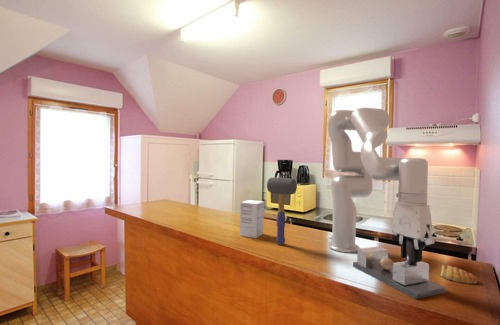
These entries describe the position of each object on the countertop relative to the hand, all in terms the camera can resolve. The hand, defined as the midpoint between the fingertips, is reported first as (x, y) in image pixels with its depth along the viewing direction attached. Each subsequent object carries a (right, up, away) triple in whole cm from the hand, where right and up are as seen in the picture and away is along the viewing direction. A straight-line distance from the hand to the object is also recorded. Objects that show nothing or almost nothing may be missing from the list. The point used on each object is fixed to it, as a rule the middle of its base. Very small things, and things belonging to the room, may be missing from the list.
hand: (411, 258), depth 80 cm
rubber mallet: (-35, -8, +39) cm, 53 cm away
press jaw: (0, -6, 0) cm, 6 cm away
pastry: (+18, -9, +7) cm, 22 cm away
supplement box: (-48, -8, +53) cm, 72 cm away
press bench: (-2, -8, +5) cm, 10 cm away
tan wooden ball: (-3, -5, +8) cm, 10 cm away
